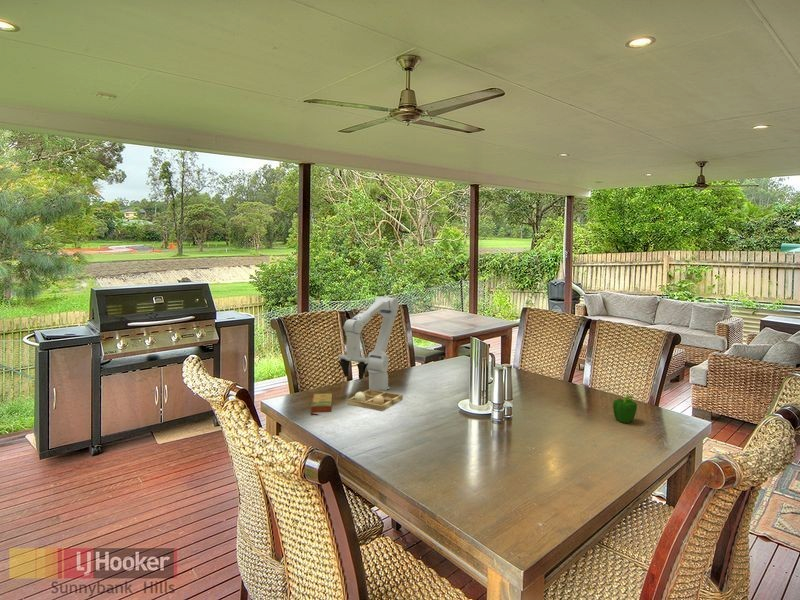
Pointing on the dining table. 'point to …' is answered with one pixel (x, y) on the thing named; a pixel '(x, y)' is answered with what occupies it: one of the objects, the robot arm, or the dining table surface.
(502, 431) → the dining table surface
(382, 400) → the tan ball
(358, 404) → the egg rack
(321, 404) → the carton
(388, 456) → the dining table surface
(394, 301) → the robot arm
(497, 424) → the dining table surface
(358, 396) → the white egg
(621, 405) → the bell pepper
